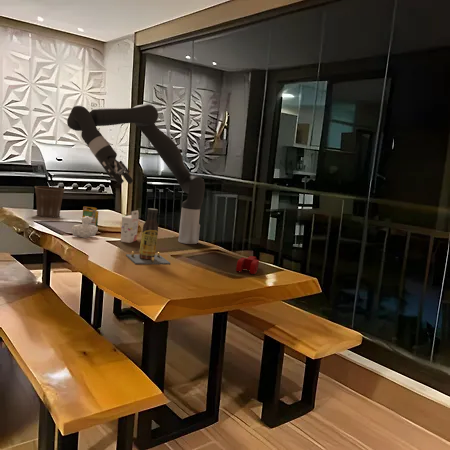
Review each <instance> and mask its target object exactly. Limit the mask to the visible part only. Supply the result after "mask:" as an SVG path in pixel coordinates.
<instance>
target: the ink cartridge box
mask: <svg viewBox="0 0 450 450" xmlns="http://www.w3.org/2000/svg"><path fill="white" fill-rule="evenodd" d="M120 227H121V229H120V242H122V243H127V244H130V243H133V242H136V241H137V239H138V230H139V229H138V228H139V210H138V209H137V210H132V211H131V214H130V215H125V216H122V217H121V226H120Z"/></svg>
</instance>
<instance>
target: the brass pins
mask: <svg viewBox="0 0 450 450" xmlns="http://www.w3.org/2000/svg"><path fill="white" fill-rule="evenodd" d="M130 254H131V257H134V254H135V251H133V250H132V251H131V253H130ZM156 255H157V257H160V256H161V252H160V251H157V253H156ZM151 262H152V263H154V257H152V260H151Z"/></svg>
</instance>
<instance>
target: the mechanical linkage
mask: <svg viewBox="0 0 450 450" xmlns="http://www.w3.org/2000/svg"><path fill="white" fill-rule="evenodd" d="M259 264H260V260H259V259H257V256H252V255H250V256H248V257H243V256H242V257H240V258H239V259H237V262H236V265H235V266H236V267H235V269H236V270H235V271H240V272H241V271H242V270H243V269H247V270H250V271H249V274H250V273H251V274H255V273H256V272H257V270H258V271H259ZM242 272H243V271H242ZM242 272H241V273H242ZM257 273H258V272H257ZM257 273H256V274H257ZM251 274H250V275H251ZM256 274H255V275H256Z"/></svg>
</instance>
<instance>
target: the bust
mask: <svg viewBox="0 0 450 450" xmlns="http://www.w3.org/2000/svg"><path fill="white" fill-rule="evenodd" d="M79 220H81V224H76V225H75V224H74V225H73V226H72V227H71V233H72V236H74V237H80V238H83V239H84V238H85V239H89V238H91V237H95V236H96V234H97V232H98V230H99V227H98V226H97V227H96V226H94V225H90V224H89V223H91V220H93V218H90V217H89V216H85V217H83V218H82V216H80V217H79ZM82 220H83V222H82ZM82 223H83V224H82Z"/></svg>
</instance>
